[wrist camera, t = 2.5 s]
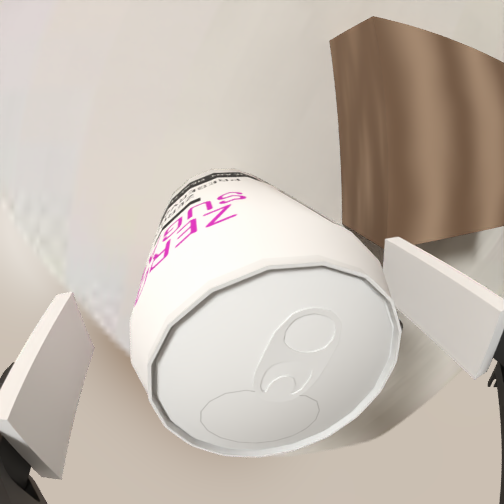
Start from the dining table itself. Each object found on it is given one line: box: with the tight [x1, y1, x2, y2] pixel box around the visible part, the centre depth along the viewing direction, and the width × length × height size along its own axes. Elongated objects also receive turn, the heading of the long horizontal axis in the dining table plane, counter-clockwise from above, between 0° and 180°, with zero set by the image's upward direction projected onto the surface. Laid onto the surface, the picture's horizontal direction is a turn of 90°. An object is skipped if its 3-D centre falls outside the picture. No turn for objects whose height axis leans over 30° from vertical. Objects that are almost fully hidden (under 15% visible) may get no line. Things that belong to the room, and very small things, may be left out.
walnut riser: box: [330, 16, 504, 249], centre depth 19 cm, size 14×14×6 cm
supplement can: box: [130, 169, 402, 457], centre depth 14 cm, size 8×8×15 cm
